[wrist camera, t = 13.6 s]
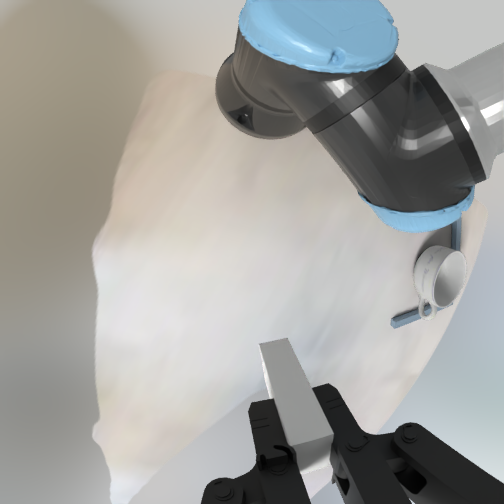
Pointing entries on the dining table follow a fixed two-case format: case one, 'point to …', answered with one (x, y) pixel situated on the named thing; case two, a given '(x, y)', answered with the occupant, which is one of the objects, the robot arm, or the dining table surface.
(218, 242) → the dining table surface
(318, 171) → the dining table surface
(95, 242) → the dining table surface
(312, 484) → the dining table surface
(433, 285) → the teacup
